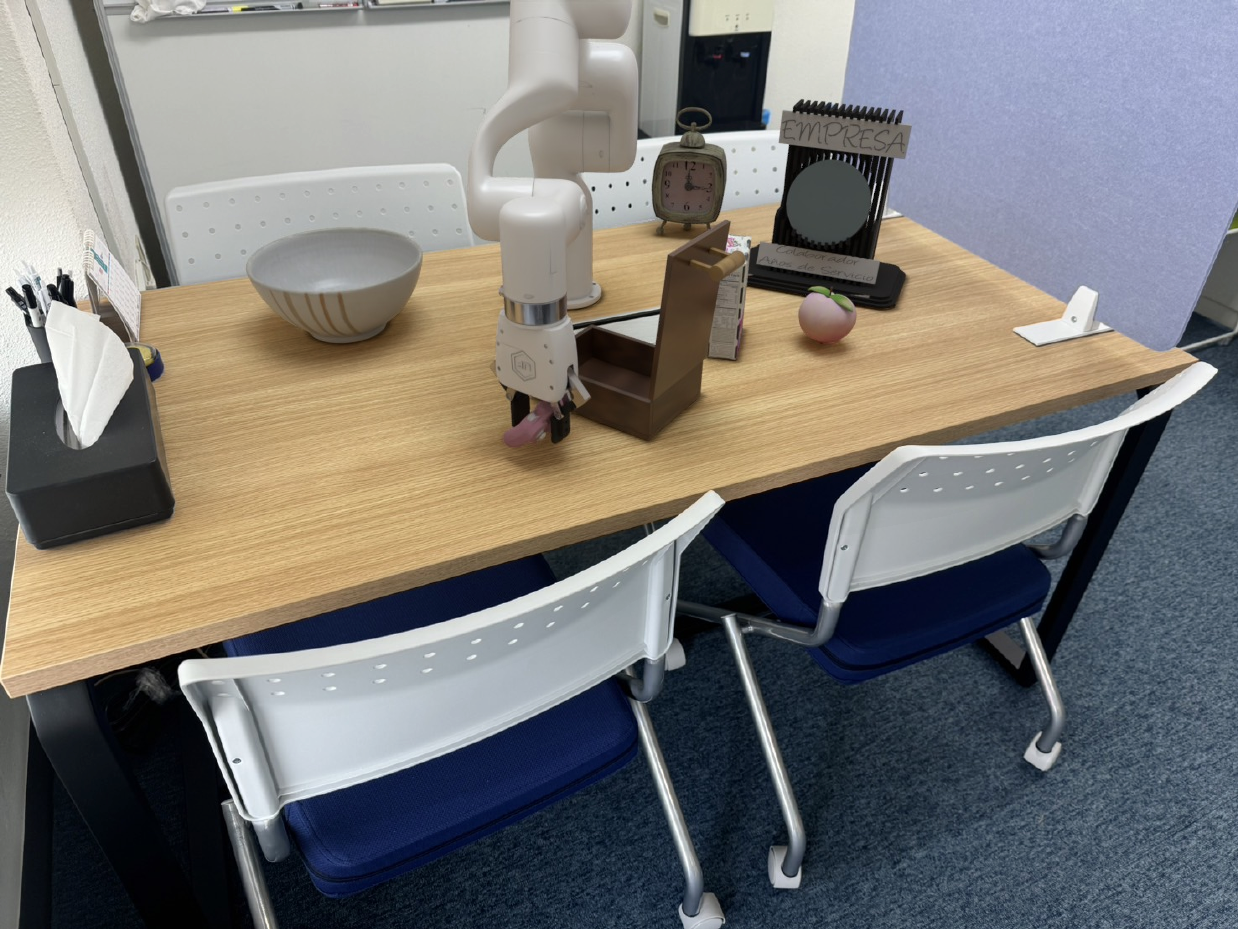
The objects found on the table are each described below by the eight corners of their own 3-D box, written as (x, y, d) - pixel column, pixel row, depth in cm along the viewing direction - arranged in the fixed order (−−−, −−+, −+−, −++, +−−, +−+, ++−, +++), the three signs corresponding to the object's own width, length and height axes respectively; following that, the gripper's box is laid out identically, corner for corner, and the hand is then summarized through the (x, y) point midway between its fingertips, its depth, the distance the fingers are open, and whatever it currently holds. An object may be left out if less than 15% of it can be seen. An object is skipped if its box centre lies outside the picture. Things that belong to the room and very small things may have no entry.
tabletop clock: (649, 237, 179) (654, 110, 164) (655, 222, 186) (660, 99, 171) (719, 243, 177) (731, 115, 162) (722, 227, 184) (733, 103, 170)
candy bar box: (713, 327, 146) (721, 232, 136) (742, 330, 145) (753, 235, 135) (705, 358, 137) (713, 259, 127) (736, 361, 136) (747, 262, 126)
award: (726, 282, 161) (742, 113, 143) (752, 248, 175) (770, 90, 157) (892, 312, 151) (932, 136, 134) (907, 273, 166) (944, 109, 148)
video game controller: (523, 465, 111) (540, 432, 106) (497, 442, 112) (513, 408, 107) (567, 430, 118) (586, 398, 113) (543, 409, 119) (560, 375, 114)
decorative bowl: (303, 383, 128) (286, 308, 121) (238, 319, 144) (220, 250, 137) (460, 333, 142) (453, 263, 135) (384, 280, 159) (375, 215, 152)
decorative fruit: (782, 343, 141) (790, 286, 136) (809, 327, 146) (819, 271, 140) (832, 362, 136) (843, 304, 130) (858, 345, 141) (870, 288, 135)
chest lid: (667, 254, 101) (709, 269, 99) (725, 219, 111) (764, 232, 109) (647, 399, 114) (684, 415, 111) (701, 356, 124) (736, 370, 121)
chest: (534, 398, 126) (532, 361, 122) (591, 358, 136) (591, 324, 132) (648, 441, 117) (650, 403, 114) (700, 395, 127) (703, 359, 124)
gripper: (460, 297, 104) (472, 423, 115) (575, 336, 97) (577, 466, 107) (500, 277, 110) (508, 399, 120) (612, 312, 102) (610, 439, 113)
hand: (540, 430), depth 114 cm, fingers closed on video game controller, 5 cm apart
